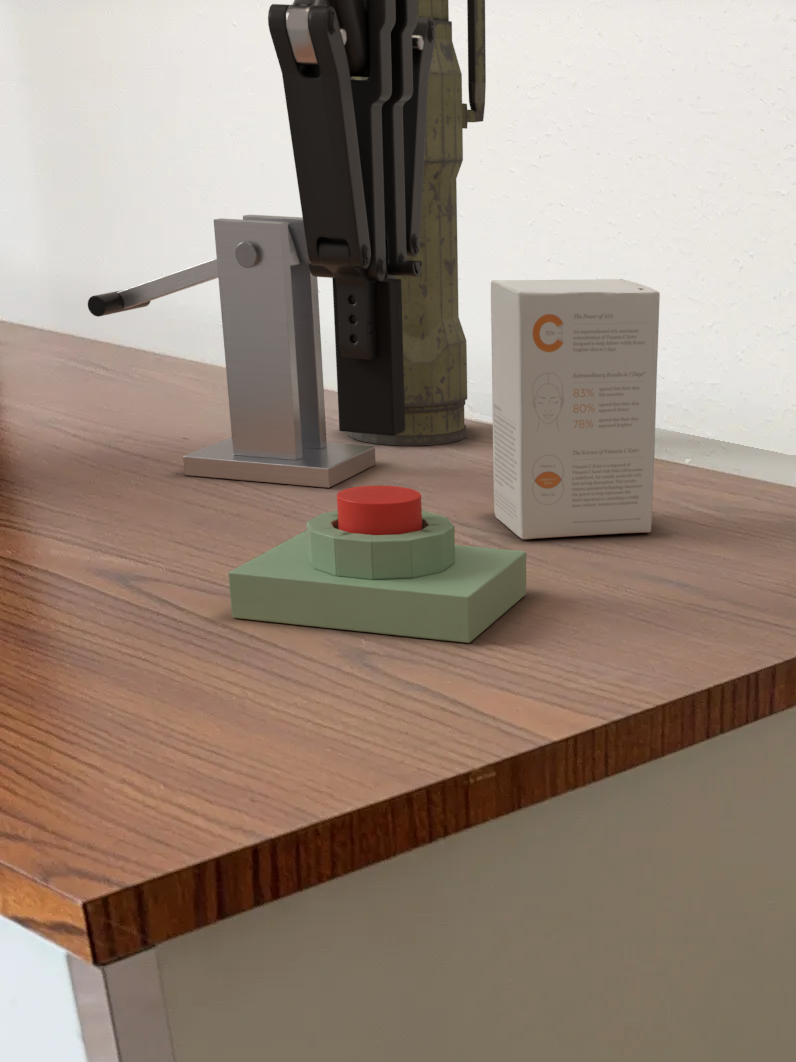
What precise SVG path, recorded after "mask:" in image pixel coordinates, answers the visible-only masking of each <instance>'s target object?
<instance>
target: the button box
mask: <svg viewBox="0 0 796 1062" xmlns="http://www.w3.org/2000/svg"><path fill="white" fill-rule="evenodd" d="M305 527H306V530H304V531H302V532H300V533H298V534H296V535H294V536H293V537H290V538H289V539H287V540H285V541H284V542H282V543H280V544H278V545H276V546H274V547H272V548H271V549H269V550H267V551H265V552H263V553H260V555H257V556H256V557H254V558H252V559H250V560H249V561H246V562H244V563H243V564H241V565H239V566H237V567H236V568H234V569H232V570H230V571H228V573H227V575H228V576H227V577H228V585H229V586H228V587H229V599H230V609H231V617H232V618H233V619H240V620H247V621H248V620H250V621H259V622H267V623H268V622H269V623H276V624H277V623H278V624H285V625H286V624H287V625H296V626H306V627H314V628H315V627H316V628H323V629H334V630H344V631H352V632H362V633H370V634H371V633H372V634H379V635H380V634H381V635H390V636H399V637H408V638H416V639H417V638H418V639H427V640H428V639H429V640H435V641H446V642H454V643H455V642H457V643H465V644H470V643H472V642H473V641H474V640H475V639H476V638H477V637H479V636H480V635H481V634H482V633H483V632H485V630H487V629H488V628H489V627H491V625H493V624H494V623H495V622H496V621H497V620H498V619H499V618H501V616H503V615H504V614H505V613H506V612H508V611H509V610H510V609H511V608H512V607H513V606H515V605H516V604H517V603H518V602H519V601H520V600H521V599H522V598H524V597H525V596H526V595H527V551H525V550H516V549H504V548H494V547H483V546H474V545H462V544H455V543H456V542H455V525H454V524H453V523H452V521H451V520H450V519H449V517H448V516H444V515H440V514H436V513H434V512H430V511H425V510H422V530H420V531H415V532H409V533H404V534H397V535H368V534H357V533H349V532H346V531H342V530H339V527H338V510H333V511H329V512H323V513H320V514H318V515H316V516H315V517H313V518H311V519H309V520H307V521H306V524H305Z"/></svg>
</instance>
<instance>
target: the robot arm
mask: <svg viewBox="0 0 796 1062" xmlns="http://www.w3.org/2000/svg"><path fill="white" fill-rule="evenodd" d="M267 12H268V13H267V24H268V30H269V34H270V37H271V40H272V44H273V47H274V50H275V54H276V58H277V61H278V64H279V68H280V72H281V75H282V83H283V90H284V97H285V103H286V110H287V118H288V125H289V132H290V138H291V140H290V141H291V146H292V153H293V159H294V160H293V161H294V167H295V173H296V174H295V175H296V181H297V188H298V194H299V195H298V196H299V203H300V208H301V215H302V218H303V223H304V230H305V237H306V244H307V251H308V257H309V260H310V262H311V263H309V269H310V272H311V274H312V276H315V277H317V278H327V279H328V278H329V279H331V280H332V297H333V299H332V300H333V320H334V321H333V323H334V341H335V342H334V343H335V345H334V346H335V363H336V364H335V366H336V386H337V387H336V388H337V389H336V390H337V407H338V429H339V430H338V431H339V432H356V433H366V434H377V435H388V436H395V435H397V434H399V433H401V432H403V431H405V404H404V366H403V328H402V290H401V279H397V276H409V277H419V276H420V273H421V270H422V261H410V260H407V256H411V257H416V256H417V255H418V253H419V247H420V228H421V210H422V191H423V173H424V154H425V135H426V117H427V98H428V80H429V73H430V67H431V62H432V56H433V51H434V45H435V38H436V30H435V24H434V21H433V19H432V18H422V17H417V0H294V1H293V2H292V3H291V4H281V3H279V4H278V3H272V4H270V6H269V9H268V11H267ZM353 77H368V79H367V80H356V79H353Z"/></svg>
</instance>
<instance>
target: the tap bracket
mask: <svg viewBox="0 0 796 1062" xmlns="http://www.w3.org/2000/svg"><path fill="white" fill-rule="evenodd" d="M288 229H289V232H290V235H291V238H292V241H293V244H294V247H295V250H296V253H297V256H298V259H299V262H300V264H299V265H296V266H293V267H290V255H289V239H288ZM213 230H214V243H215V244H214V245H215V254H216V258H217V267H218V278H217V280H218V287H219V288H218V290H219V301H220V303H219V304H220V312H221V313H220V314H221V325H222V337H223V349H224V359H225V371H226V385H227V396H228V406H229V420H230V432H231V437H228V438H226V439H224V440H221V441H218V442H215V443H213V444H210V445H208V446H205V447H202V448H200V449H197V450H196V451H195V450H194V451H193V452H190V453H187V454H186V455H183V456H182V461H183V471H184V476H190V477H201V478H212V479H213V478H214V479H224V480H236V481H247V482H258V483H271V484H280V485H281V484H282V485H291V486H292V485H293V486H303V487H312V488H313V487H315V488H326V489H329V488H331V487H334V486H336V485H338V484H339V483H342V482H343V481H346V480H348V479H350V478H352V477H353V476H355V475H357V474H359V473H361V472H364V471H366V470H367V469H369V468H371V467H374V466H376V464H377V463H376V446H375V445H365V444H355V443H354V444H353V443H343V442H331V441H330V442H328V441H327V439H328V438H327V423H326V422H327V421H326V408H325V405H326V404H325V390H324V388H325V387H324V371H323V370H324V369H323V354H322V337H321V335H322V334H321V319H320V318H321V317H320V316H321V315H320V301H319V284H318V283H319V282H318V281H319V280H318V277H315V276H312V274H311V272H310V269H309V263H311V262H310V260H309V257H308V251H307V244H306V237H305V230H304V223H303V216H302V217H300V216H299V217H298V216H282V215H264V214H263V215H261V214H245V215H242V219H238V218H237V219H236V218H222V217H221V218H213Z"/></svg>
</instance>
